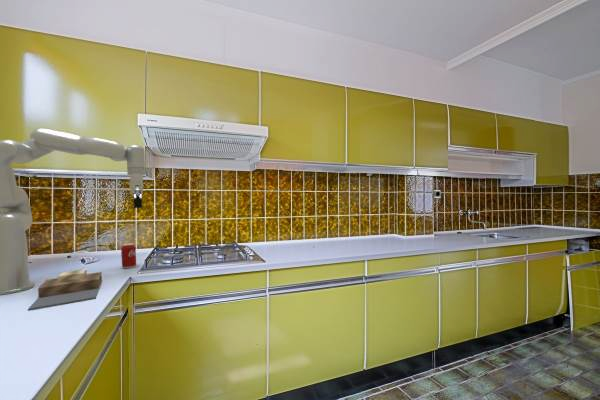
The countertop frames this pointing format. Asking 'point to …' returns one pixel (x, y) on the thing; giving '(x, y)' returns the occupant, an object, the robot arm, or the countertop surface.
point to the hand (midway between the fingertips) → (138, 207)
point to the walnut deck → (70, 285)
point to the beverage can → (128, 255)
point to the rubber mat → (64, 299)
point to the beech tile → (72, 276)
